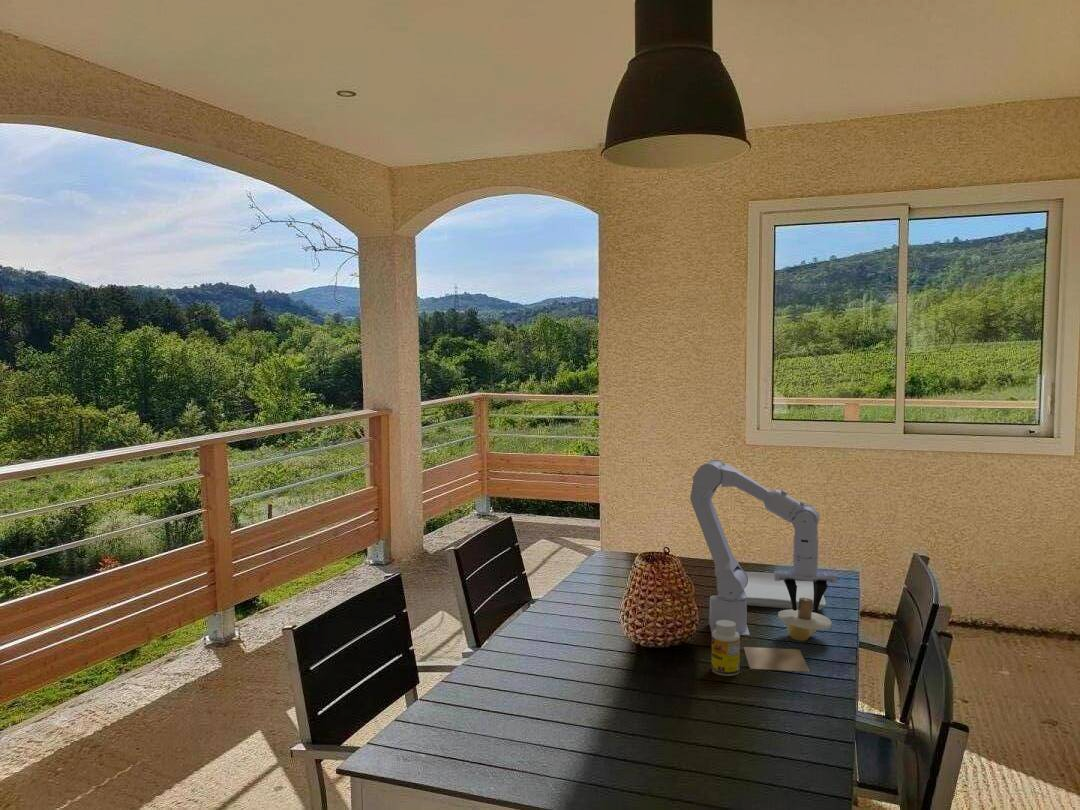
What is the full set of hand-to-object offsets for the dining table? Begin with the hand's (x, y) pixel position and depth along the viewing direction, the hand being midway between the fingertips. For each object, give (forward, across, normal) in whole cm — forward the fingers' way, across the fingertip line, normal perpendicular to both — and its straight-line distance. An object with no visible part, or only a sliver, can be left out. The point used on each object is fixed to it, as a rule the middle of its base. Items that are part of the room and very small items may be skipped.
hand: (804, 609), depth 190 cm
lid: (+3, 0, 0) cm, 3 cm away
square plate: (+8, -2, +36) cm, 37 cm away
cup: (+8, -1, +1) cm, 9 cm away
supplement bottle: (+8, -21, -22) cm, 31 cm away
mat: (+8, -9, -14) cm, 18 cm away
